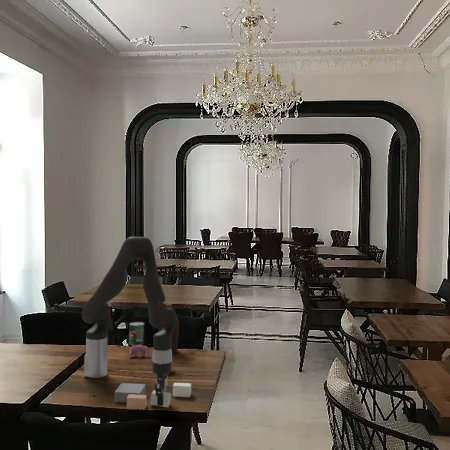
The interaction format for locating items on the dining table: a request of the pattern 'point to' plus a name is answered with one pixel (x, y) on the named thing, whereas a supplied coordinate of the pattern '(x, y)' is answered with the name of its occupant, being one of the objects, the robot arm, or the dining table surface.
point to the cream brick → (182, 389)
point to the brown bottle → (175, 333)
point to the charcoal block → (128, 391)
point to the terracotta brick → (136, 401)
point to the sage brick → (165, 399)
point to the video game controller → (139, 348)
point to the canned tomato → (136, 333)
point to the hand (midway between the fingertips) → (161, 403)
